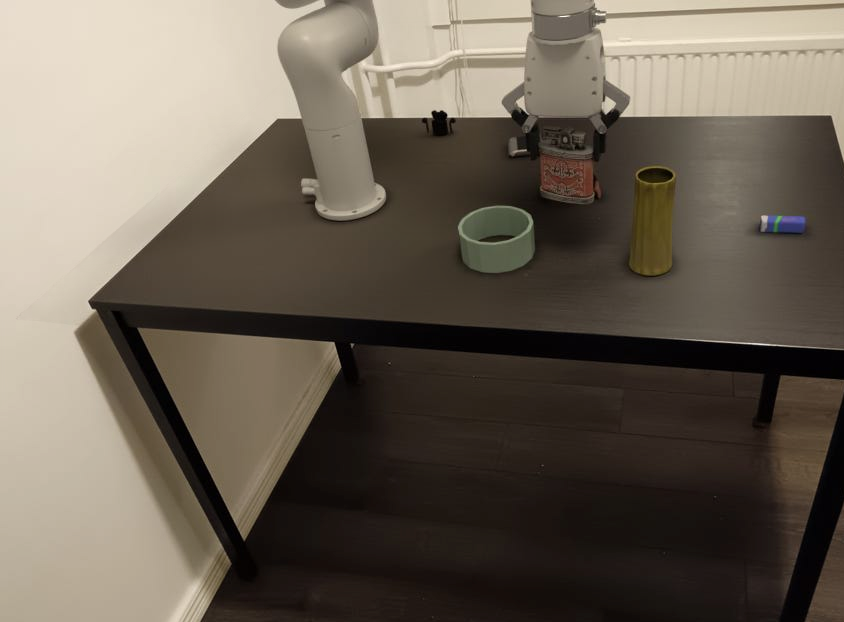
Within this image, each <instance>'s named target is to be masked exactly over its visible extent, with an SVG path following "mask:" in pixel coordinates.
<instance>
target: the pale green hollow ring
mask: <svg viewBox="0 0 844 622" xmlns="http://www.w3.org/2000/svg"><path fill="white" fill-rule="evenodd" d="M534 226H535V225H534V220H533V218H532V215H531V214H530V213H528V212H527V211H526V210H524V209H522V208H519V207H515V206H511V205H492V206H485V207H480V208H479V209H476V210H474V211H471V212H469V213H468V214H466V215H465V216H463V218H461V220H460V221H459V224H458V225H457V233H458V238H459V248H460V255H461V259H462V263H463V264H464V265H466V266H467V267H468V268H469V269H471V270H474V271H477V272H480V273H484V274H502V273H506V272H513V271H514V270H517V269H519V268H522V267H524V266H525V265H526V264H528V263H529V262H530V261H531V260H533V258H534V254H535V251H536V243H535V242H536V241H535V229H534V228H535V227H534ZM496 236H509V237H510V236H511V237H512V238H509V239H507V240H501V241H496V242H495V241H494V242H489V241H481V240H484V239H486V238H490V237H496Z"/></svg>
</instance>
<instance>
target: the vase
mask: <svg viewBox="0 0 844 622" xmlns="http://www.w3.org/2000/svg"><path fill="white" fill-rule="evenodd" d="M634 177H635V178H634V196H633V197H634V200H633V201H634V202H633V212H632V213H633V214H632V226H631V237H630V248H629V251H630V252H629V260H628V266H629V269H630V270H632V272H634V273H636V274H638V275H640V276H646V277H655V276H656V277H657V276H660V275H663V274H665V273H667V272H669V271H670V270H671V268H672V266H673V218H674V206H675V196H676V195H675V193H676V183H677V175H676V173H675V171H674V170H673V169H671V168H670V167H667V166H661V165H650V166H646V167H643V168H640V169H638V170H637V171H636V173H635V176H634Z"/></svg>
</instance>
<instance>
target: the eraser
mask: <svg viewBox="0 0 844 622" xmlns="http://www.w3.org/2000/svg"><path fill="white" fill-rule="evenodd" d="M805 227H806V217H805V216H798V215H761V216H760V222H759V232H760V233H773V234H774V233H780V234H781V233H783V234H786V233H787V234H804V231H805Z"/></svg>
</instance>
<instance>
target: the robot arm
mask: <svg viewBox="0 0 844 622" xmlns="http://www.w3.org/2000/svg"><path fill="white" fill-rule="evenodd" d="M274 1H275V2H276V3H277V4H278V5H279V6H281V7H283V8H285V9H289V10H290V9H292V10H294V9H299V8H303V7H306V6H307V7H308V6H309V5H312V4H315V3H316V2H319V1H320V0H274ZM323 3H324V6H323V7H321V8H317V9H315V10H313V11H311V12H309V13H306V14H304V15H302V16H300V17H298V18H297V19H295V20H293V21H291V22H290V23H288V24H287V25H286V27H284V29H283V30H282V31H281V33H280V34H279V37H278V39H277V45H276V47H277V48H276V49H277V56H278V59H279V62H280V65H281V67H282V70H283V71H284V74H285V75H286V78H287V80H288V82H289V84H290V87H291V90H292V93H293V94H294V97H295V100H296V103H297V107H298V111H299V114H300V118H301V122H302V125H303V128H304V132H305V136H306V140H307V144H308V148H309V153H310V156H311V159H312V164H313V167H314V172H315V175H316V178H304V177H303V178H302V179H301V180H300V181H301V182H300V185H301V193H302V195H304V196H314V197H316V199H315V202H314V206H315V210H316V214H318V216H320V217H322V218H324V219H326V220H331V221H338V222H339V221H340V222H342V221H343V222H344V221H352V220H357V219H361V218H363V217H367V216H369V215H372V214H374V213H375V212H377V211H378V210H380V209H381V208H382V207H383V206H384V204H385V203H386V201H387V193H386V190H385V188H384V187H383V186H382V185H381V184H379V183H376V182H375V178H374V173H373V168H372V163H371V158H370V154H369V149H368V144H367V140H366V133H365V129H364V125H363V120H362V114H361V110H360V106H359V102H358V98H357V97H356V95H355V93H354V91H353V90H352V89H351V87H350V86H349V85H348V84H347V83H346V81H345V80H344V78H343V73H344V72H346V71H347V70H348V69H350V68H352V67H353V66H355V65H357V64H359V63H361V62H362V61H364V60H366V59H367V58H368V57H370V56H371V55H372V54H373V53H374V52H375V50H376V48H377V46H378V43H379V37H380V35H379V33H380V32H379V25H378V18H377V13H376V8H375V6H374V2H373V0H323ZM530 10H531V11H530V12H531V31H530V32H528V35H527V39H526V46H525V55H524V56H525V57H524V73H523V74H524V75H523V76H524V78H523V80H524V81H523V82H522V83H520V84H519V85H517V86H516V87H514V88H513V89H512V90H511V91H509V92H508V93H507V94H505V95H504V96H503V98H502V100H501V105H502V106H503V108H504V109H505V110H506V111H507V113H508V114H509V115H510V117H511V119H512V120H513V121H514V122H515V123H516V124H517V125H518V126H519V127H521V130H522V132H523V133H525V135H524V136H526V150H527V152H530V155H529V156H530V161H532V162H533V161H536V160H537V159H538V156H540V154H539V152H540V151H539V148H538V144H539V142H540V137H539V135H540V125H539V123H537V121H538V119H539V118H588V119H589V121H590V122H591V124H592V125H593V127H594V128H595V129H594V132H593V136H592V138H593V139H592V143H593V144H592V146H593V162H595V163H599V162H600V160H601V156H602V154H606V152H607V130H609V129H610V128H611V126H613V125H614V124H615V123H616V122H617V121H618V120H619V119H620V117H621V116H622V114H623V113H624V111H625V110H626V109H627V108H628V106H629V105H630V102H631V96H630V95H629V94H628V93H627V92H625V91H623V90H622V89H620V88H619V87H617V86H616V85H615V84H612V83H611V82H610V81H608V80H607V77H606V76H607V75H606V73H607V72H606V57H605V48H604V47H605V46H604V41H603V40H604V39H603V36H602V30H601V29H600V28H598V27H597V25H598V26H599V25H600V24H607V11H606V10H600V9H598V7H596V2H595V0H530ZM606 97H607V98H608V99H610V100H611V101H613V102H614V103H615V104H614V106H613V107H612V108H611V109H610V110H609V111H608V112H606V111H605V110H604V109H603V103H605V102H606ZM521 98H523V99H524V100H523V102H524V109H525V110H524V109H523V108H522V107H520V106H519V104H518V103H517V101H518V100H520V99H521Z"/></svg>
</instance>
